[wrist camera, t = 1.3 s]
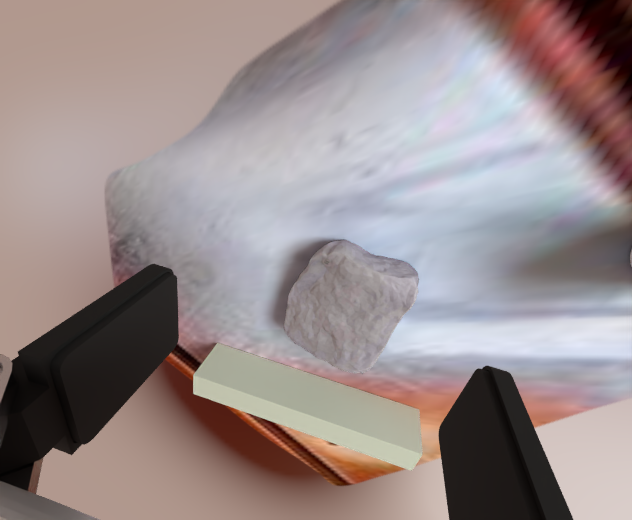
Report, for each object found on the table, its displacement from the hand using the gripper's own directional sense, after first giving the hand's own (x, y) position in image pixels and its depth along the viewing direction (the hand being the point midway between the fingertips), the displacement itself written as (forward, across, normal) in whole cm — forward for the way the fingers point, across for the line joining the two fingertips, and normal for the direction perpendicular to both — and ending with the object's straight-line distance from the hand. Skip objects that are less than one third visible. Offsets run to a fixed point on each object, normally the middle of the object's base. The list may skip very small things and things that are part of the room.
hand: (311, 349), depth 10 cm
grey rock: (+18, -1, +10) cm, 21 cm away
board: (+18, 0, +23) cm, 29 cm away
